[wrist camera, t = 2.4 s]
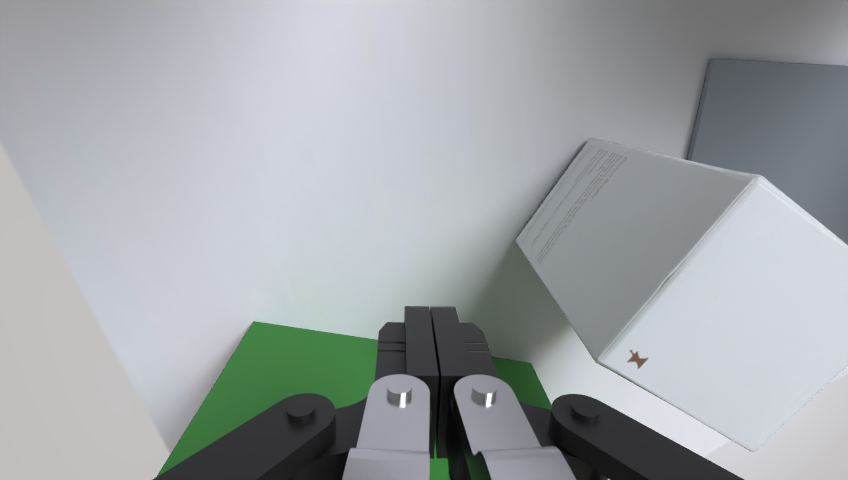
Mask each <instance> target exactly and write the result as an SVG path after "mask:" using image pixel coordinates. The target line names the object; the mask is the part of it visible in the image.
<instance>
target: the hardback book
mask: <svg viewBox="0 0 848 480" xmlns="http://www.w3.org/2000/svg"><path fill="white" fill-rule="evenodd" d="M377 349H378V340H374V339H368V338H361V337H354V336H348V335H341V334H334V333H328V332H321V331H314V330H308V329H301V328H294V327H288V326H281V325H274V324H268V323H261V322H253V323H252V325H251V326H250V328H249V330H248V331H247V333H246V334H245V336H244V338H243V339H242V341H241V343H240V344H239V346H238V347H237V349H236V351H235V352H234V354H233V355H232V357H231V359H230V360H229V362H228V363H227V365H226V367H225V368H224V370H223V371H222V373H221V375H220V376H219V378H218V379H217V381H216V383H215V384H214V386H213V387H212V389H211V391H210V392H209V394H208V395H207V397H206V399H205V400H204V402H203V403H202V405H201V407H200V408H199V410H198V411H197V413H196V415H195V416H194V418H193V419H192V421H191V423H190V424H189V426H188V427H187V429H186V431H185V432H184V434H183V435H182V437H181V439H180V440H179V442H178V443H177V445H176V447H175V448H174V450H173V451H172V453H171V455H170V456H169V458H168V459H167V461H166V463H165V464H164V466H163V467H162V469H161V471H160V472H159V474H158V475H157V477H158V476H159V475H161V474H162V473H164V472H166V471H167V470H169V469H171V468H172V467H174V466H175V465H177V464H179V463H180V462H182V461H184V460H185V459H187V458H188V457H190V456H192V455H193V454H195V453H197V452H198V451H200V450H201V449H203V448H205V447H206V446H208V445H209V444H211V443H213V442H214V441H216V440H218V439H219V438H221V437H222V436H224V435H226V434H227V433H229V432H231V431H232V430H234V429H235V428H237V427H239V426H240V425H242V424H244V423H245V422H247V421H248V420H250V419H252V418H253V417H255V416H257V415H258V414H260V413H261V412H263V411H265V410H266V409H268V408H269V407H271V406H273V405H274V404H276V403H278V402H279V401H281V400H283V399H285V398H287V397H289V396H293V395H296V394H302V393H314V394H319V395H322V396H325V397H327V398H328V399H329V400H331V402H332V403H333V404H334V406H335V409H337V408H341V407H345V406H349V405H352V404H355V403H357V402H359V401H361V400H363V399H364V398H366V397H367V396H368V393H369V390H370V387H371V386H372V384H373V383H374V382H375V371H376V360H377ZM492 360H493V363H494V366H495V369H496V372H497V374H498V377H499V379H500V380H502V381H504V382H505V383H507V384H508V385H509V386H510V387H511V389H512V390H513V392H514V394H515V396H516V398H517V400H518V401H520V402H523V403H526V404H528V405H532V406H537V407H541V408H546V409H550V410H551V407H552V405H551V403H550V401H549V399H548V397H547V395H546V393H545V391H544V389H543V387H542V385H541V383H540V381H539V379H538V377H537V374H536V372H535V370H534V368H533V366H532V364H531V363H528V362H521V361H514V360H508V359H501V358H494V357H492ZM448 468H449V467H448V459H447V458H437V456H436V446H435V450H434V459H430V475H429V480H448Z"/></svg>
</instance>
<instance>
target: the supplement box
mask: <svg viewBox="0 0 848 480" xmlns="http://www.w3.org/2000/svg"><path fill="white" fill-rule="evenodd" d="M515 241H516V243H517V244H518V246H519V248H520V249H521V251H522V252H523V253H524V255H525V256H526V258H527V259H528V261H529V263H530V264H531V265H532V267H533V268H534V270H535V271H536V273H537V274H538V276H539V277H540V279H541V280H542V282H543V283H544V285H545V286H546V288H547V289H548V291H549V292H550V294H551V296H552V297H553V299H554V300H555V302H556V303H557V305H558V306H559V308H560V309H561V311H562V312H563V314H564V315H565V317H566V318H567V320H568V321H569V323H570V324H571V326H572V327H573V328H574V330H575V332H576V333H577V335H578V336H579V338H580V339H581V341H582V342H583V344H584V345H585V347H586V348H587V350H588V351H589V353H590V355H591V356H592V358H593V359H594V360H595V362H596V363H598V364H600V365H602V366H603V367H605V368H607V369H609V370H611V371H612V372H614V373H616V374H618V375H620V376H621V377H623V378H625V379H627V380H629V381H630V382H632V383H634V384H636V385H637V386H639V387H641V388H643V389H644V390H646V391H648V392H650V393H651V394H653V395H655V396H657V397H659V398H660V399H662V400H664V401H666V402H667V403H669V404H671V405H673V406H674V407H676V408H678V409H680V410H681V411H683V412H685V413H686V414H688V415H690V416H691V417H693V418H695V419H696V420H698V421H700V422H702V423H703V424H705V425H707V426H708V427H710V428H712V429H714V430H715V431H717V432H719V433H720V434H722V435H724V436H725V437H727V438H729V439H730V440H732V441H734V442H735V443H737V444H739V445H741V446H742V447H744V448H746V449H748V450H750V451H752V452H754V451H757V450H758V449H759V448H760V447H761V446H762V445H764V444H765V443H766V442H767V441H768V440H769V439H770V438H771V437H772V436H773V435H774V434H775V433H776V432H777V431H778V430H779V429H780V428H781V427H782V426H783V425H784V424H785V423H786V422H787V421H788V420H789V419H790V418H791V417H792V416H794V415H795V414H796V413H797V412H798V411H799V410H800V409H801V408H802V407H803V406H804V405H805V404H806V403H807V402H809V401H810V400H811V399H812V398H813V397H814V396H815V395H816V394H817V393H818V392H819V391H820V390H821V389H822V388H823V387H824V386H826V385H827V384H828V383H829V382H830V381H831V380H832V379H833V378H834V377H835V376H836V375H837V374H838V373H839V372H840V371H842V370H843V369H844V368H845V367H846V366H847V365H848V245H847V244H846V243H845V242H843V241H842V240H841V239H840V238H838V237H837V236H836V235H835V234H833V233H832V232H831V231H830V230H828V229H827V228H826V227H825V226H824V225H822V224H821V223H820V222H819V221H817V220H816V219H815V218H814V217H812V216H811V215H810V214H809V213H807V212H806V211H805V210H804V209H803V208H801V207H800V206H799V205H798V204H796V203H795V202H794V201H793V200H791V199H790V198H789V197H788V196H786V195H785V194H784V193H783V192H782V191H780V190H779V189H778V188H777V187H775V186H774V185H773V184H772V183H770V182H769V181H768V180H767V179H766V178H764V177H763V176H761V175H757V174H750V173H744V172H738V171H732V170H728V169H723V168H719V167H714V166H710V165H705V164H701V163H697V162H693V161H689V160H684V159H680V158H676V157H672V156H668V155H664V154H660V153H656V152H651V151H647V150H643V149H639V148H635V147H631V146H626V145H622V144H617V143H612V142H607V141H603V140H598V139H593V138H590V139H589V140H588V142H587V143H586V145H585V146H584V147H583V149H582V150H581V151H580V152H579V154H578V155H577V156H576V158H575V159H574V160H573V162H572V163H571V165H570V166H569V167H568V169H567V170H566V171H565V173H564V174H563V175H562V177H561V178H560V180H559V181H558V182H557V184H556V185H555V186H554V188H553V189H552V190H551V192H550V193H549V195H548V196H547V197H546V199H545V200H544V201H543V203H542V204H541V206H540V207H539V208H538V210H537V211H536V212H535V214H534V215H533V216H532V218H531V219H530V221H529V222H528V223H527V225H526V226H525V227H524V229H523V230H522V232H521V233H520V234H519V236H518V237H517V238H516V240H515Z"/></svg>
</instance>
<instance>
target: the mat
mask: <svg viewBox="0 0 848 480" xmlns="http://www.w3.org/2000/svg"><path fill="white" fill-rule="evenodd" d="M687 160H689V161H693V162H697V163H701V164H705V165H710V166H714V167H719V168H723V169H728V170H732V171H738V172H744V173H750V174H757V175H761V176H763V177H764V178H766V179H767V180H768V181H769V182H770V183H772V184H773V185H774V186H775V187H777V188H778V189H779V190H780V191H782V192H783V193H784V194H785V195H786V196H788V197H789V198H790V199H791V200H793V201H794V202H795V203H796V204H798V205H799V206H800V207H801V208H803V209H804V210H805V211H806V212H807V213H809V214H810V215H811V216H812V217H814V218H815V219H816V220H817V221H819V222H820V223H821V224H822V225H824V226H825V227H826V228H827V229H828V230H830V231H831V232H832V233H833V234H835V235H836V236H837V237H838V238H840V239H841V240H842V241H843V242H845V243H846V244H847V245H848V66H840V65H822V64H803V63H785V62H766V61H747V60H729V59H710V61H709V65H708V70H707V74H706V79H705V83H704V87H703V92H702V96H701V100H700V105H699V109H698V113H697V118H696V122H695V127H694V131H693V135H692V140H691V144H690V148H689V153H688V157H687Z"/></svg>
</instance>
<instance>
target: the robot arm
mask: <svg viewBox="0 0 848 480" xmlns="http://www.w3.org/2000/svg"><path fill="white" fill-rule="evenodd" d="M435 446H436V456H437V458H447V459H448V467H449V468H448V480H608V479H610V480H744V479H742V478H740V477H738V476H736V475H735V474H733V473H731V472H729V471H727V470H726V469H724V468H722V467H720V466H718V465H716V464H714V463H713V462H711V461H709V460H707V459H705V458H703V457H702V456H700V455H698V454H696V453H694V452H692V451H691V450H689V449H687V448H685V447H683V446H681V445H680V444H678V443H676V442H674V441H672V440H670V439H669V438H667V437H665V436H663V435H661V434H659V433H658V432H656V431H654V430H652V429H650V428H648V427H647V426H645V425H643V424H641V423H639V422H637V421H636V420H634V419H632V418H630V417H628V416H626V415H625V414H623V413H621V412H619V411H617V410H615V409H614V408H612V407H610V406H608V405H606V404H604V403H603V402H601V401H599V400H597V399H594V398H592V397H588V396H585V395H579V394H567V395H563V396H560V397H558V398H556V399H555V400H554V402H553V403H552V407H551V410H550V409H546V408H541V407H537V406H532V405H528V404H526V403H523V402H520V401H518V400H517V398H516V396H515V394H514V392H513V390H512V389H511V387H510V386H509V385H508V384H507V383H505V382H504V381H502V380H500V379H499V377H498V374H497V372H496V369H495V366H494V363H493V360H492V357H491V354H490V353H489V349H488V346H487V344H486V340H485V337H484V335H483V332H482V331H481V330H480V329H479V328H477V327H476V326H475V325H474V324H473V323H459V320H458V316H457V313H456V309H455V307H430V310H429V307H424V306H405V315H404V323H400V322H387V323H386V324H385V325H384V326H383V327H382V328H381V330H380V331H379V337H378V349H377V360H376V371H375V382H374V383H373V384H372V386H371V387H370V390H369V393H368V396H367V397H366V398H364V399H363V400H361V401H359V402H357V403H355V404H352V405H349V406H345V407H341V408H337V409H335V406H334V404H333V403H332V402H331V400H329V399H328V398H327V397H325V396H322V395H319V394H314V393H302V394H296V395H293V396H289V397H287V398H285V399H283V400H281V401H279V402H278V403H276V404H274V405H273V406H271V407H269V408H268V409H266V410H265V411H263V412H261V413H260V414H258V415H257V416H255V417H253V418H252V419H250V420H248V421H247V422H245V423H244V424H242V425H240V426H239V427H237V428H235V429H234V430H232V431H231V432H229V433H227V434H226V435H224V436H222V437H221V438H219V439H218V440H216V441H214V442H213V443H211V444H209V445H208V446H206V447H205V448H203V449H201V450H200V451H198V452H197V453H195V454H193V455H192V456H190V457H188V458H187V459H185V460H184V461H182V462H180V463H179V464H177V465H175V466H174V467H172V468H171V469H169V470H167V471H166V472H164V473H162V474H161V475H159V476H158V477H156V478H154V479H153V480H429V475H430V459H434V450H435Z"/></svg>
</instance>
